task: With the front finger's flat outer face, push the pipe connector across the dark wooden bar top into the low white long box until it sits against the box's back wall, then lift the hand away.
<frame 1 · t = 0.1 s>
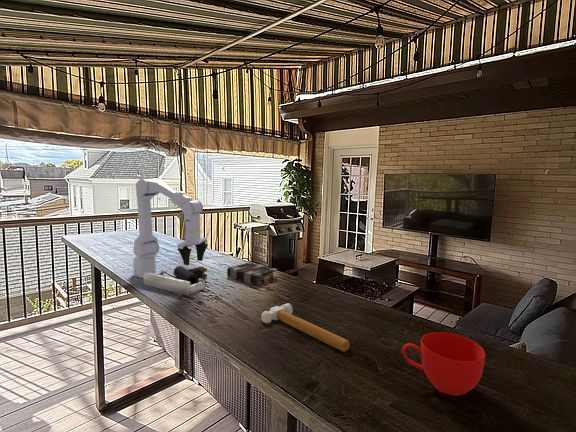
hand: (193, 262, 138), 10 cm above the table, tool pointing down, fingers open, 7 cm apart
ceramic cup: (439, 386, 77), on the table
book: (257, 280, 151), on the table
white long box: (175, 285, 140), on the table
hammer: (305, 333, 102), on the table
pipe connector: (192, 280, 149), on the table
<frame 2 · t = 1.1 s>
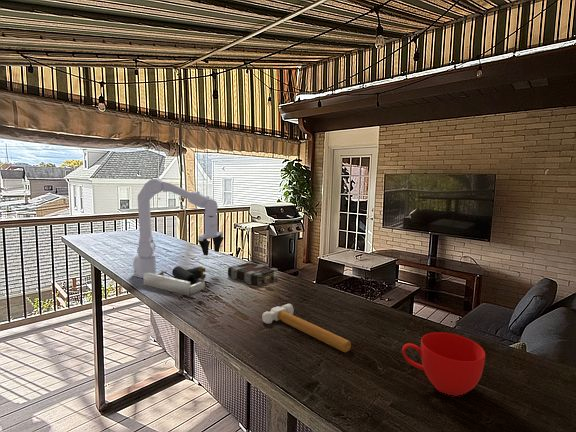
hand: (211, 253, 158), 9 cm above the table, tool pointing down, fingers open, 7 cm apart
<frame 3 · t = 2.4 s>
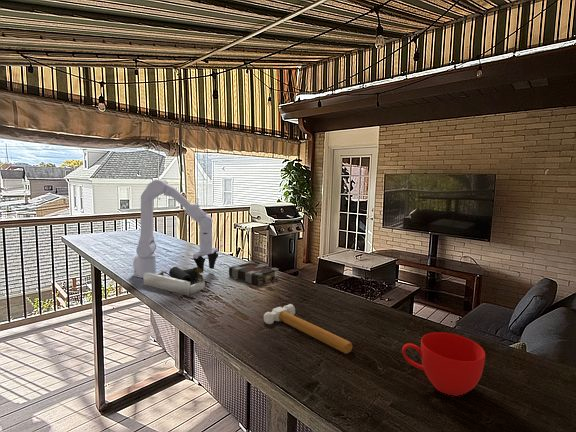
hand: (206, 270, 156), 2 cm above the table, tool pointing down, fingers open, 7 cm apart
pipe connector: (188, 281, 147), on the table
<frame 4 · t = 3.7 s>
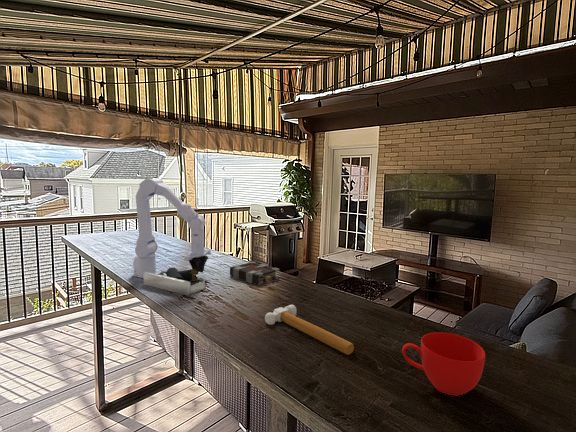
hand: (198, 273, 151), 2 cm above the table, tool pointing down, fingers open, 3 cm apart
pipe connector: (183, 282, 144), on the table, touching white long box, gripper
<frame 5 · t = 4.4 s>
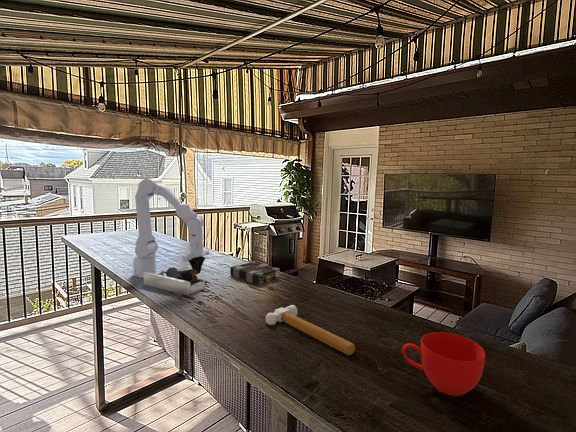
hand: (196, 273, 150), 2 cm above the table, tool pointing down, fingers closed
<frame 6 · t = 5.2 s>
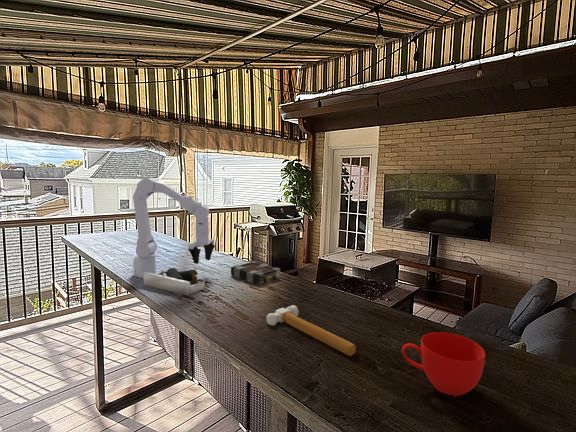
hand: (202, 261, 153), 7 cm above the table, tool pointing down, fingers open, 7 cm apart
pipe connector: (183, 283, 145), on the table
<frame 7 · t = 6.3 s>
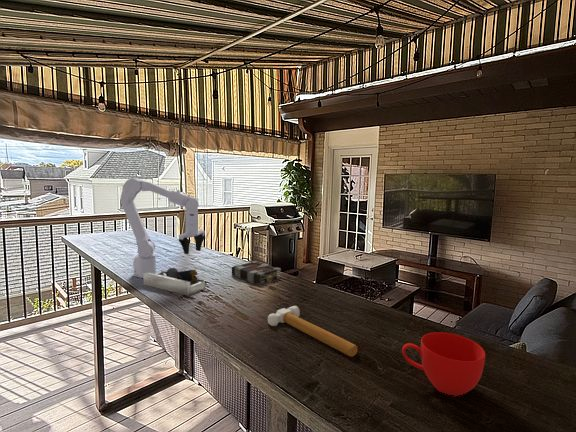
hand: (192, 252, 157), 10 cm above the table, tool pointing down, fingers open, 7 cm apart
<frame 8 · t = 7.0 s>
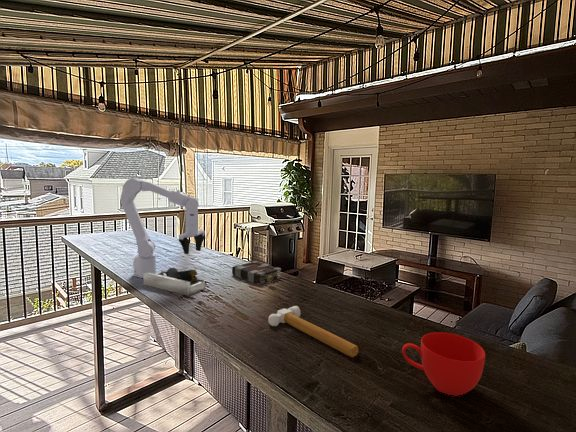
hand: (192, 252, 157), 10 cm above the table, tool pointing down, fingers open, 7 cm apart
at the end: pipe connector inside the target area (2.9 cm from its centre), on the table; the gripper is holding nothing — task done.
